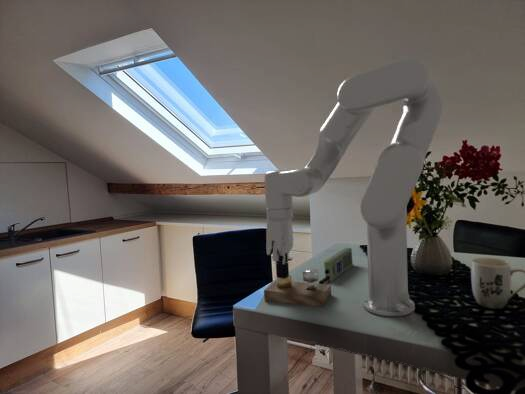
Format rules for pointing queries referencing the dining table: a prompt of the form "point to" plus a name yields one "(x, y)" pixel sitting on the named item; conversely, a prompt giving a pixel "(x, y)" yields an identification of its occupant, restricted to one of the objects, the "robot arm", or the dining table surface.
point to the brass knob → (284, 282)
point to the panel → (298, 294)
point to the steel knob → (310, 277)
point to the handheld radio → (337, 265)
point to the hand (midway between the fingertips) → (282, 276)
